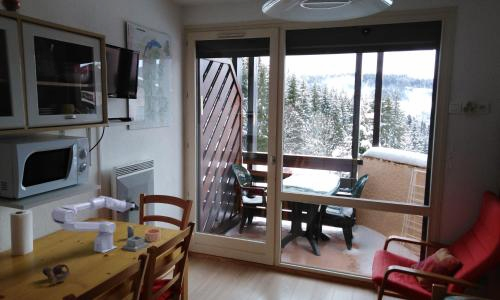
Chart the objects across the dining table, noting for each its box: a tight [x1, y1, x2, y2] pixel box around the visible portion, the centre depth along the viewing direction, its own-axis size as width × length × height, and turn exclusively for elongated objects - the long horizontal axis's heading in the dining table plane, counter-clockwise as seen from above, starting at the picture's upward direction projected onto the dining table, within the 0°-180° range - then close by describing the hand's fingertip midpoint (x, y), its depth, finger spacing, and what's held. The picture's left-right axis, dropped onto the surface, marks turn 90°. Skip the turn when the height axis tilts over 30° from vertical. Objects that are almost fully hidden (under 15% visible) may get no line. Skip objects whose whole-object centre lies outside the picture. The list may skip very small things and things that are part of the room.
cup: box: [144, 228, 162, 243], centre depth 219 cm, size 9×9×5 cm
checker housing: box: [122, 235, 150, 252], centre depth 207 cm, size 10×10×5 cm
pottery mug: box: [42, 263, 71, 285], centre depth 166 cm, size 12×10×8 cm
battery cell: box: [126, 225, 135, 239], centre depth 219 cm, size 4×4×8 cm
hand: (133, 209), depth 220 cm, fingers open, 7 cm apart
